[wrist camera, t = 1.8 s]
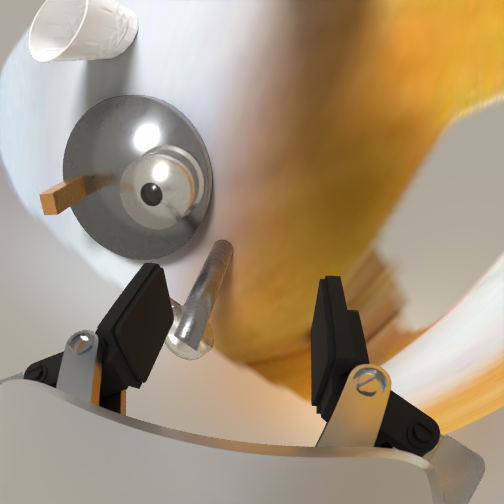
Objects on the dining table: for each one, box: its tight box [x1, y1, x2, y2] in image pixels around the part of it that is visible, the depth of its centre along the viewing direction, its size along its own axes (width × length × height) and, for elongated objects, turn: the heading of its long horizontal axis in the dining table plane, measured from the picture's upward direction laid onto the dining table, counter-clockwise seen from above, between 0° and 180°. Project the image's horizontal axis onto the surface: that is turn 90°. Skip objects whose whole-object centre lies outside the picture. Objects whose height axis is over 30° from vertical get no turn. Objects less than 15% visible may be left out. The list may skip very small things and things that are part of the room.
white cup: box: [29, 0, 138, 63], centre depth 17 cm, size 8×8×10 cm
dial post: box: [164, 240, 233, 360], centre depth 26 cm, size 6×2×16 cm, turn 48°
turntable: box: [39, 95, 212, 260], centre depth 26 cm, size 19×19×7 cm
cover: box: [120, 144, 205, 229], centre depth 25 cm, size 8×8×4 cm
